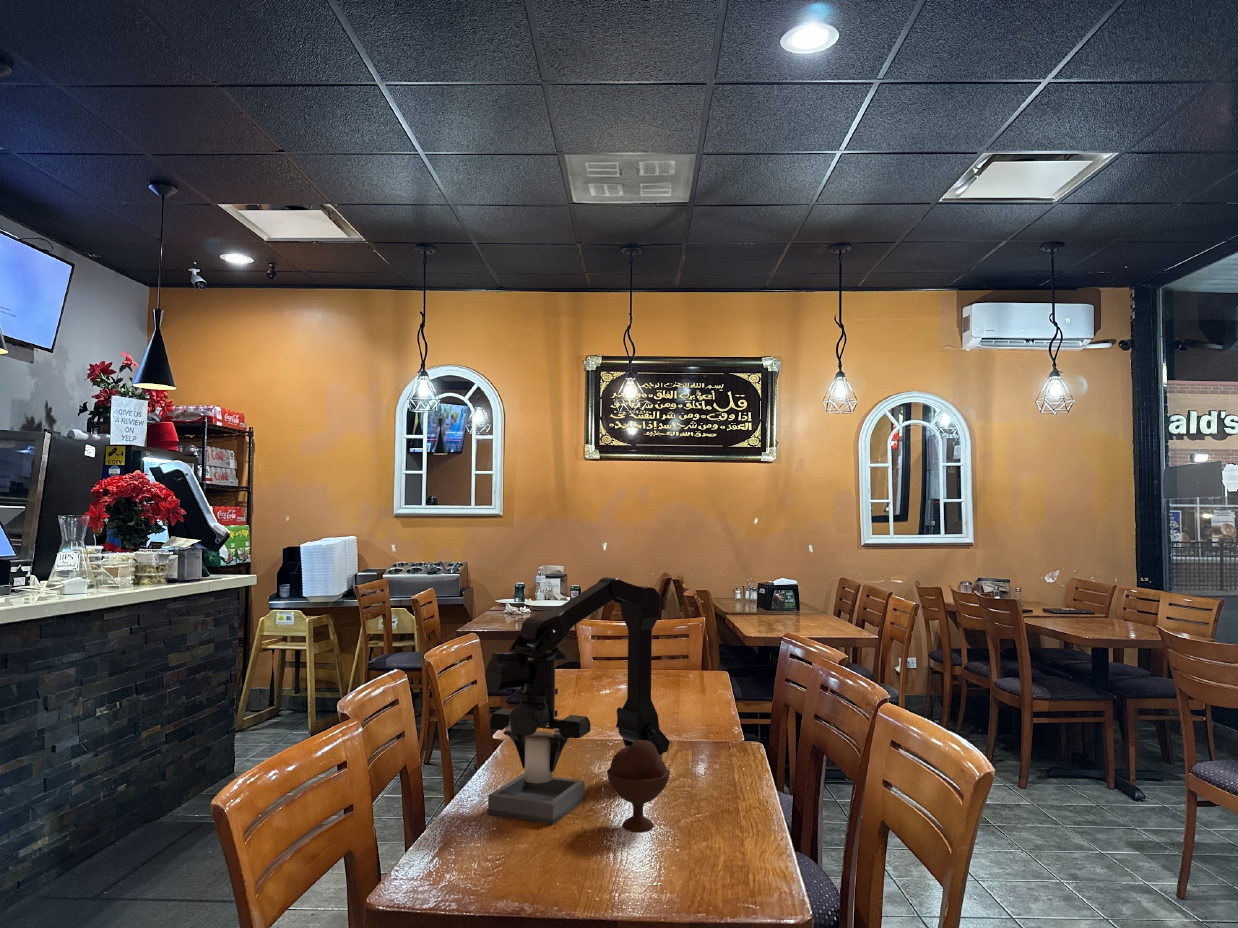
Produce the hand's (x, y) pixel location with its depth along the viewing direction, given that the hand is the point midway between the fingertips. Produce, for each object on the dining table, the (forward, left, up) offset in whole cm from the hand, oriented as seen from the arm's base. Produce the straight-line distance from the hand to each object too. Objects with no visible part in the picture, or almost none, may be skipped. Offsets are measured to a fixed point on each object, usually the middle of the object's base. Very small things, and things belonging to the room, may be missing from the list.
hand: (538, 769), depth 152 cm
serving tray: (0, 0, -7) cm, 7 cm away
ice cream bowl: (-20, +2, -7) cm, 22 cm away
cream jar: (0, 0, -2) cm, 2 cm away
